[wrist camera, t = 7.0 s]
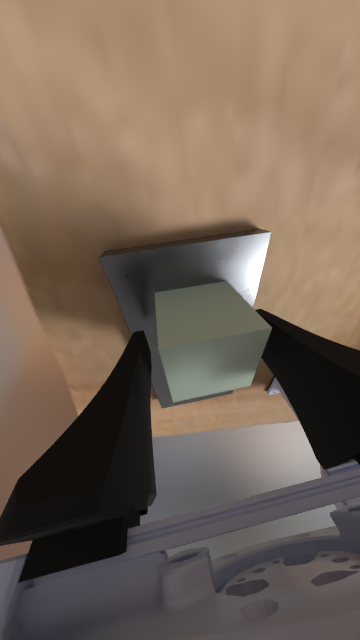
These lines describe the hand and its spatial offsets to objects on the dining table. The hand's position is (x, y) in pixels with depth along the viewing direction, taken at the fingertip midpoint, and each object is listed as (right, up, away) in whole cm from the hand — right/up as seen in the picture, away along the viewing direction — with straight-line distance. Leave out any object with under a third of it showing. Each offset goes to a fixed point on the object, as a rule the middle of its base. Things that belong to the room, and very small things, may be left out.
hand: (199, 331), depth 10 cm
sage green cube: (0, +1, +2) cm, 2 cm away
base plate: (0, -2, +6) cm, 6 cm away
